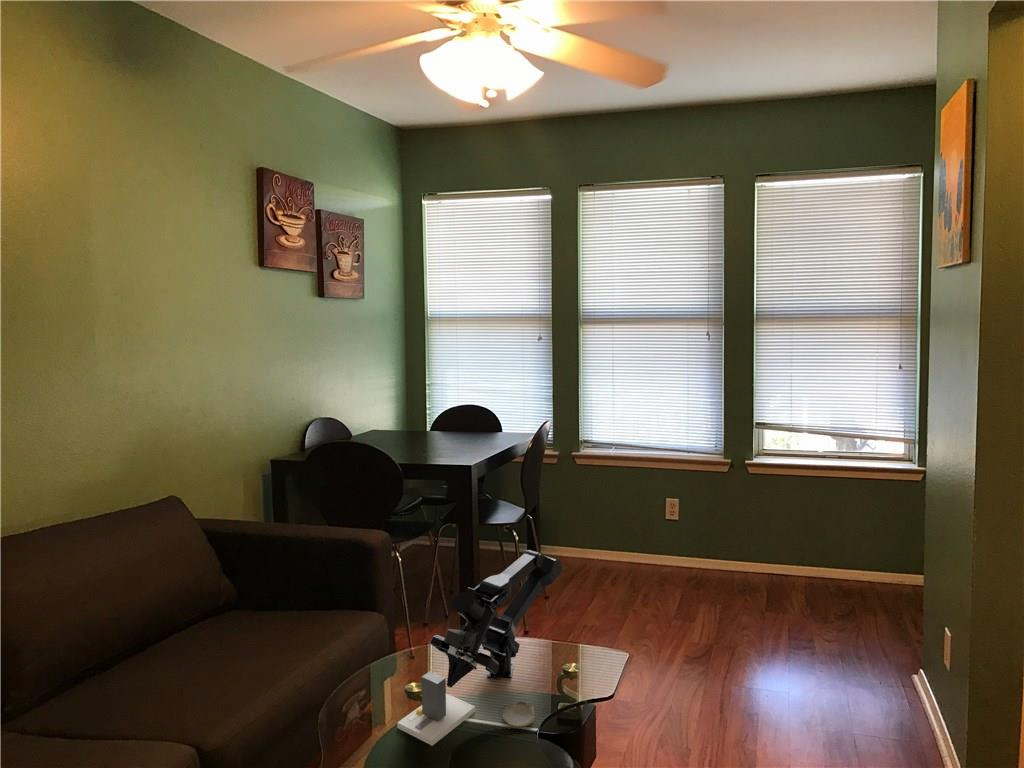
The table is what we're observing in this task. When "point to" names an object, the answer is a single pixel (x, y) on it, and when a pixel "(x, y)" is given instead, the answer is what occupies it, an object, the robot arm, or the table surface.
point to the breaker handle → (434, 696)
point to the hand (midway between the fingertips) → (448, 686)
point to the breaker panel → (434, 729)
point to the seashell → (519, 714)
